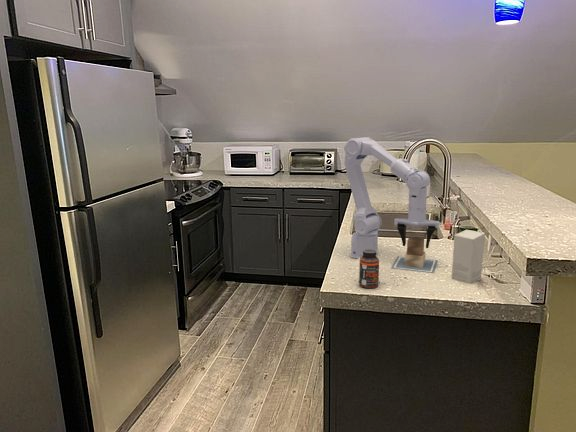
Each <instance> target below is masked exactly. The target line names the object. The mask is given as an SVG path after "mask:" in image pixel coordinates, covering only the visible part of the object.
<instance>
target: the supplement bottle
mask: <svg viewBox="0 0 576 432" xmlns="http://www.w3.org/2000/svg"><path fill="white" fill-rule="evenodd" d="M358 273H359V276H358V281H359V282H358V284H359V286H360V287H362V288H364V289H375V288H377V287H378V285H379V283H380V282H379V277H380V275H379V274H380V259H379V258H378V256H376V251H375V250H372V249H366V250H363V256H360V257H359V271H358Z"/></svg>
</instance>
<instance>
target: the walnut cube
mask: <svg viewBox="0 0 576 432" xmlns="http://www.w3.org/2000/svg"><path fill="white" fill-rule="evenodd" d="M424 250H425V237H417V236H409V237H408V238H407V240H406V252H407V255H415V256H422V255H423V252H424Z"/></svg>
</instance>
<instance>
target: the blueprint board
mask: <svg viewBox="0 0 576 432" xmlns="http://www.w3.org/2000/svg"><path fill="white" fill-rule="evenodd" d="M438 261H439V260H438V259H431V258H425V263H424V266H423V268H419V267H410V266H405V256H402V255H399V256H396V259H395V260H394V262H393V263H392V265H391V267H390V270H392V269H393V270H402V271H411V272H419V273H427V274H435V271H436V269H437V264H438Z"/></svg>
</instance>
